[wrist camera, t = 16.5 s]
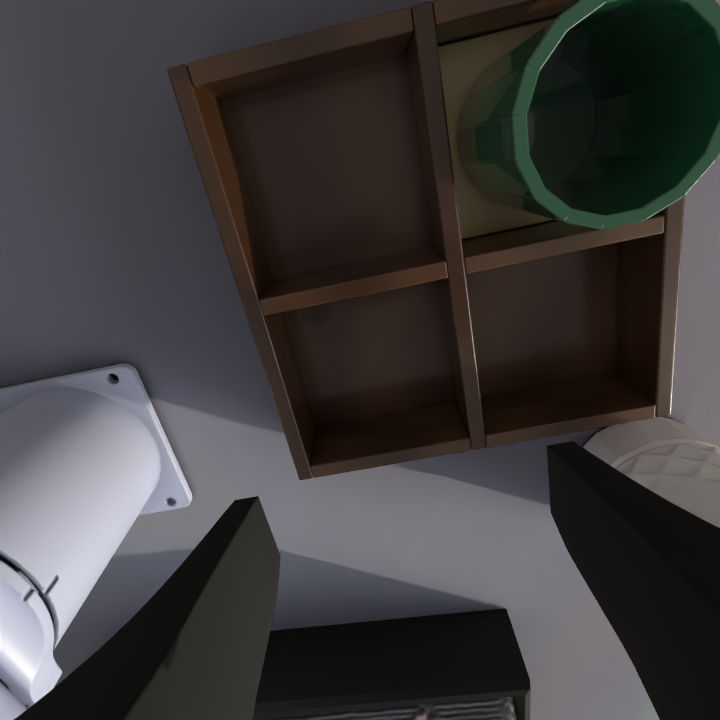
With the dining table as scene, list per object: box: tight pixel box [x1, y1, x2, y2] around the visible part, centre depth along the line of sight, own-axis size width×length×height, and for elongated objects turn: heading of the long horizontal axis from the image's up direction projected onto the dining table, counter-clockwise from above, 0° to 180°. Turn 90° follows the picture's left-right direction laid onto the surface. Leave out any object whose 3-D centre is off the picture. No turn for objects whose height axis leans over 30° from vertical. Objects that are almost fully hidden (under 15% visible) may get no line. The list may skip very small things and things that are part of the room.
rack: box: [167, 0, 685, 480], centre depth 17 cm, size 15×15×4 cm
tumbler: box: [457, 0, 720, 230], centre depth 13 cm, size 5×5×6 cm
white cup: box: [583, 416, 720, 528], centre depth 18 cm, size 8×8×10 cm
